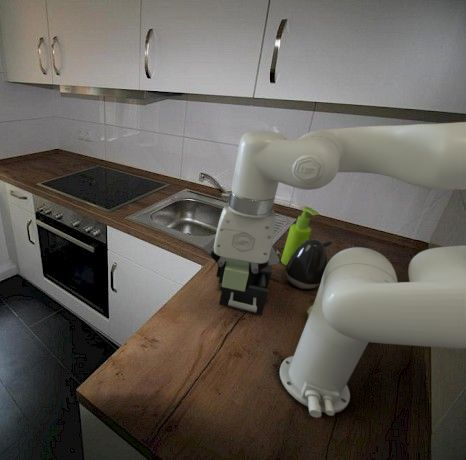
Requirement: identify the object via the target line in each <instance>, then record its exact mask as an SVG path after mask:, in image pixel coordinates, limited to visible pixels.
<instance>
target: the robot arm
mask: <svg viewBox="0 0 466 460" xmlns="http://www.w3.org/2000/svg"><path fill="white" fill-rule="evenodd" d="M338 173H361V174H363V173H364V174H374V175H380V176H386V177H390V178H392V179H396V180H399V181H401V182H404V183H406V184H407V185H412V186H415V187H418V188H423V189H428V190H461V191H462V190H466V121H459V122H458V121H457V122H443V123H416V124H415V123H414V124H404V125H403V124H402V125H401V124H400V125H397V124H395V125H367V126H352V127H351V126H350V127H339V128H327V129H318V130H313V131H309V132H307V133H305V134H303V135H302V136H300V137H299V138H297V140H293V139H292V140H291V139H289V140H288V137H287V136H285V135H284V134H282V133H279V132H276V131H270V130H251V131H248V132H246V133H244V134H243V135H242V136H241V137H240V140H239V144H238V149H237V154H236V160H235V165H234V171H233V176H232V183H231V189H230V190H228V192H227V191H226V192H222V193H221V198H220V199H221V200H222V201H223V200H224V201H225V202H226V203H225V204H224V207H223V208H222V211H221V213H220V216H219V220H218V224H217V228H216V233H215V234H214V235H213V236H212V237H211V238H209V239H208V240H207V241H206V242H205V243H204V244H203V246H202V249H203V250H204V251H205V253H207V254H208V255H210V257H211V258H212V260H213V261H214V262H215V263H216V265H217V271H216V278H219V279H218V284H221V283H222V282H223V276H224V271H225V264H226V262H225V261H226V259H227V258H230V259H235V260H240V261H246V262H251V264H250V265H249V275H248V279H247V284H246V289H249V285H250V284H253V282H254V278H255V274H256V273H258V271H259V270H261V269H264V268H266V267H267V266H268V265H276V264H278V263H280V256H279V255H278V253H277V252H276V251H277V250H275V248H274V246H273V242H274V237H275V229H276V218H277V217H276V215H277V214H276V212H275V210H274V209H273V207H274V203H275V199H276V196H277V190H278V187H279V184H283V185H286V186H289V187H292V188H296V189H299V190H307V191H311V190H318V189H321V188H323V187H326V186H327V185H329V184H330V183H331V182H332V181H333V180H334V178H335V177H336V176H337V174H338ZM407 274H408V281H400V282H399V281H398V277H397V274H396V271H395V268H394V267H393V265H392V263H391V262H390V260H389V259H388V258H386V257H385V255H383V254H382V253H380V252H379V251H376V250H374V249H371V248H368V247H360V246H358V247H356V246H355V247H348V248H345V249H343V250H340V251H339V252H337V253H336V254H334V255H333V256H332V257H331V258H330V259H329V261H327V266H326V268H325V271H324V273H323V277H322V280H321V283H320V284H319V287H318V290H317V293H316V296H315V300H314V302H313V307H312V310H311V312H310V315H309V317H308V316H307V320H306V323H305V325H304V328H303V331H302V333H301V336H300V337H299V338H300V339H299V341H298V344H297V346H296V349H295V351H294V354H293V355H290V356H288V357H286V358H285V359H284V360H283V361H282V363H281V364H280V366H279V378H280V380H281V383H282V386H284V388H285V390H287V392H288V393H289V394H290V395H291V396H292V397H293V398H294V399H295V400H296V401H298V402H299V403H301V404H302V405H303V406H306V407H307V408H308V414H309V415H310V416H311V417H312V418H315V419H318V418H321V417H322V413H325V414H326V415H327V416H330V417H333V416H335V414H336V413H340V412H342V411H344V410H345V409H346V407H348V405H349V402H350V399H351V393H350V389H349V386H348V385H347V384H348V382H349V380H350V378H351V376H352V375H353V373H354V370H355V369H356V367H357V365H358V363H359V361H360V359H361V358H362V355H363V353H364V352H365V350H366V348H367V346H368V344H369V343H374V344H376V343H377V344H383V345H385V344H386V345H396V346H397V345H400V346H412V347H414V346H415V347H425V348H427V347H429V348H443V349H461V350H462V349H463V350H466V244H463V245H452V246H451V245H450V246H441V247H439V246H438V247H431V248H428V249H425V250H422V251H420V252H418V253H417V254H416V255H414V256H413V257H412V259H410V262H409V263H408V273H407Z"/></svg>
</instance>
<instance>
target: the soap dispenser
mask: <svg viewBox="0 0 466 460" xmlns="http://www.w3.org/2000/svg"><path fill="white" fill-rule="evenodd" d="M300 209H301V210H302V212H301V215H298V216H297V218H296V222H295V223H293V224H290V227H289V229H288V230H289V231H288V233H287V234H288V235H287V237H286V241H285V244H284V247H283V251H282V253H281V254H282V255H281V259H280V262H281V263H282V264H283V265H284V266H285V267H286V266H287V263H288V261H289V259H290V258H291V256H292V254H293V253H294V252H295V250H296V249H297V248H298V247H299V246H300V245H301V244H302V243H303V242H304V241H306V240H308V239H310V236H311V233H312V228H311V227H310V226H309V225H310V221H311V218H310V217H309V215H312V216H319V215H320V213H319V212H318V211H317V210H315V209H314V208H311V207H309V206H306V205H305V206H301V207H300Z"/></svg>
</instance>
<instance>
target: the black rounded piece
mask: <svg viewBox="0 0 466 460" xmlns="http://www.w3.org/2000/svg"><path fill="white" fill-rule="evenodd" d="M332 244H333V243H332V240H327V241H324V242H322V241H321V240H319V239H317V238H309V239H308V240H306V241H304V242H303V243H302V244H301V245H300V246H299V247H298V248H297V249H296V250H295V252H294V253H293V254H292V256H291V258H290V259H289V261H288V263H287V266H286V265H285V275H286V278H287V280H288V281H289V283H290V284H292V285H293V286H294V287H296V288H299V289H301V290H302V289H303V290H313V289H315V288H317V287H318V286H320V283H321V280H322V277H323V273H324V271H325V268H326V266H327V264H328V256H327V255H328V254H327V250H326V248H327V247H329V246H331V245H332Z"/></svg>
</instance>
